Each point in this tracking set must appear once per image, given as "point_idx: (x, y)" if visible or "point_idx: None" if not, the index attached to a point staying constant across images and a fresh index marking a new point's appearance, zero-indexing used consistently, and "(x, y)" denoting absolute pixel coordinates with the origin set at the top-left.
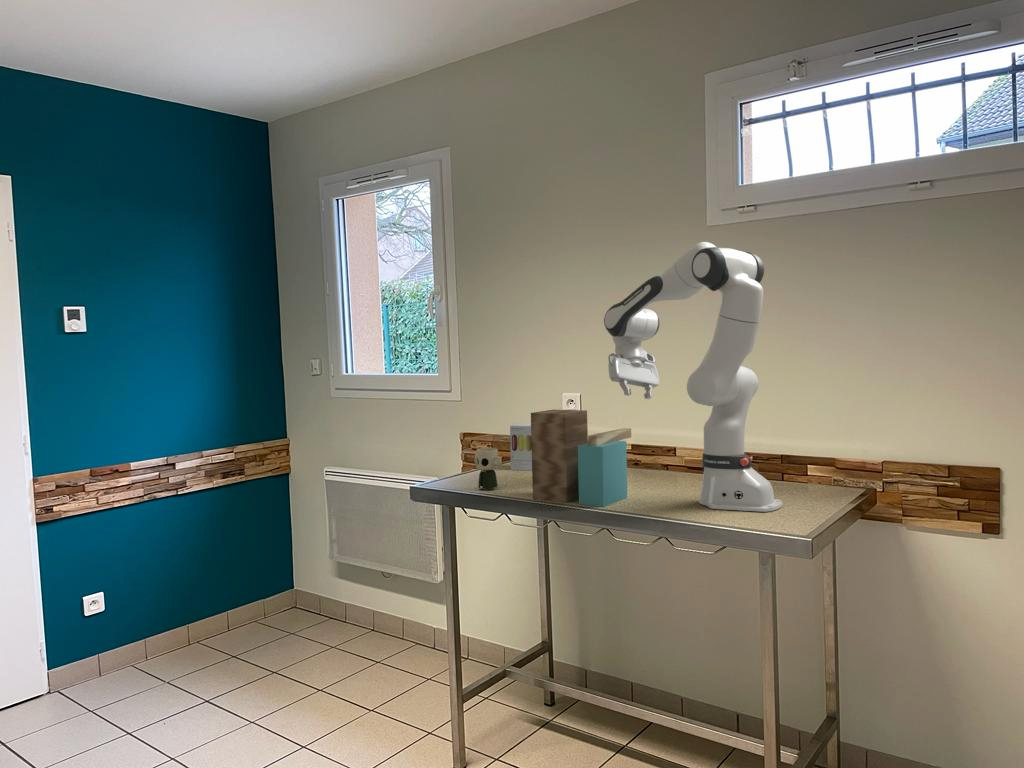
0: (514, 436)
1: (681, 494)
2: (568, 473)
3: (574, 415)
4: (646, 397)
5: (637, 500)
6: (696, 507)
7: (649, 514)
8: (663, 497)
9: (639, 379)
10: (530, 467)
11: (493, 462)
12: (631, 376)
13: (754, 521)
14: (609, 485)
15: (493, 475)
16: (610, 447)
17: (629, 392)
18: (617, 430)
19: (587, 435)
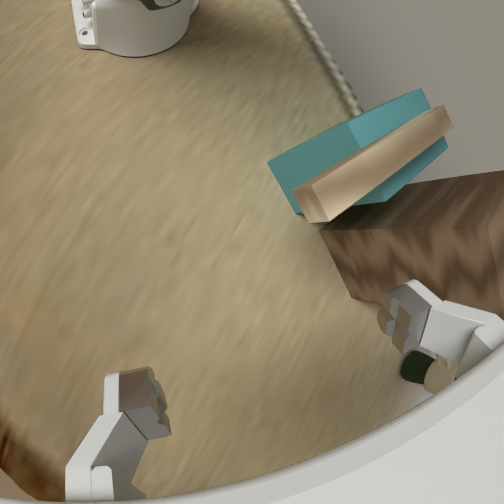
0: None
1: (142, 123)
2: (407, 186)
3: (501, 188)
4: (157, 386)
5: (264, 126)
6: (207, 24)
7: (303, 40)
8: (199, 118)
9: (356, 462)
10: None
11: (444, 361)
12: (498, 393)
13: None
14: (345, 121)
15: (425, 360)
16: (397, 98)
17: (408, 284)
18: (376, 162)
19: (421, 226)
